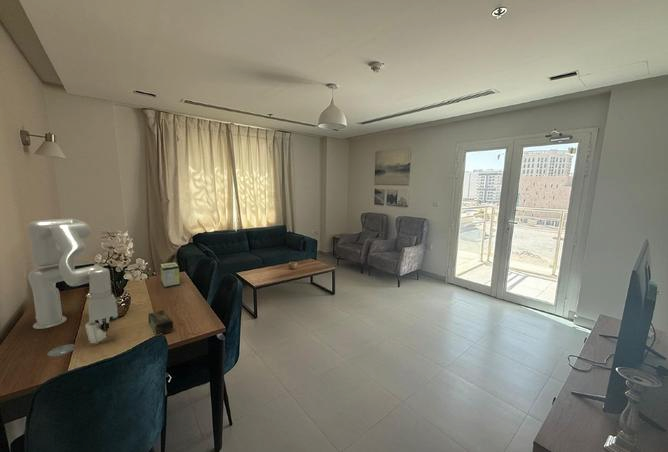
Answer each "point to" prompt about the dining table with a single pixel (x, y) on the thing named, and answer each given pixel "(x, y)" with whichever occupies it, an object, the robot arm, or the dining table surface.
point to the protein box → (170, 275)
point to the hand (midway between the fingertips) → (105, 330)
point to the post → (98, 342)
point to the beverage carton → (160, 322)
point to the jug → (95, 332)
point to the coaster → (61, 350)
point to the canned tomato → (114, 317)
